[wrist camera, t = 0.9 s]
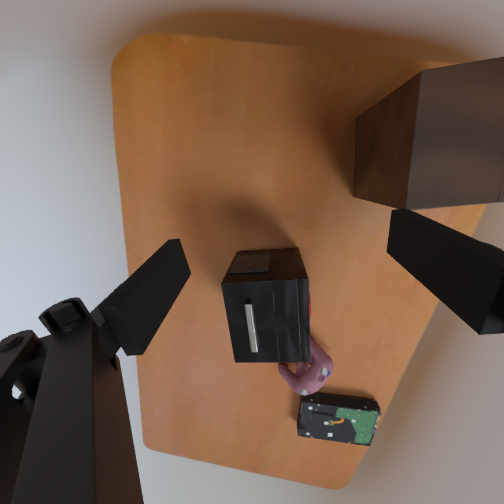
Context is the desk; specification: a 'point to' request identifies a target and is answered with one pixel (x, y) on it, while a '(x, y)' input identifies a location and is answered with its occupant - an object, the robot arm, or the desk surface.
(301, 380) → the video game controller
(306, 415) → the disk drive
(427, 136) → the box
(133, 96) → the desk surface
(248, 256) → the dark button box
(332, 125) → the desk surface
